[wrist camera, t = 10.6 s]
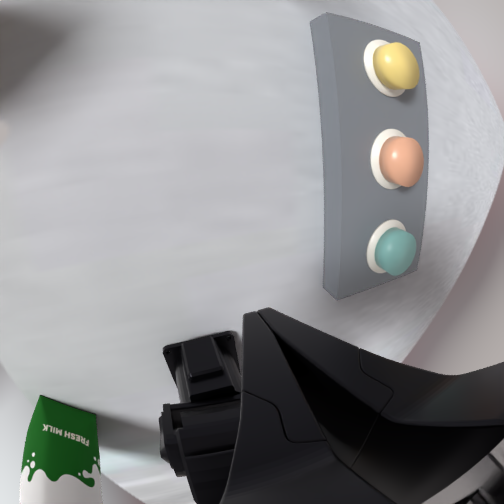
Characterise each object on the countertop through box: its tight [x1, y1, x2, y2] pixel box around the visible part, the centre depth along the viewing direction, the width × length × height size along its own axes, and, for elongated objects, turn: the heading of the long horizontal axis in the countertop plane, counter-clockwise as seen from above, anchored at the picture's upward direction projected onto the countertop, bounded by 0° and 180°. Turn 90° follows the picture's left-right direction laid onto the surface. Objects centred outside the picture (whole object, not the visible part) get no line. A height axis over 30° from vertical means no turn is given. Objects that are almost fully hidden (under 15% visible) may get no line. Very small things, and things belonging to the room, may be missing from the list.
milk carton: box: [20, 395, 103, 504], centre depth 14 cm, size 9×9×20 cm
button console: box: [310, 12, 429, 300], centre depth 22 cm, size 24×11×3 cm, turn 5°
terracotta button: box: [379, 136, 424, 187], centre depth 19 cm, size 4×4×2 cm
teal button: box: [374, 227, 416, 276], centre depth 23 cm, size 4×4×2 cm
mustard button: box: [373, 42, 420, 90], centre depth 16 cm, size 4×4×2 cm
